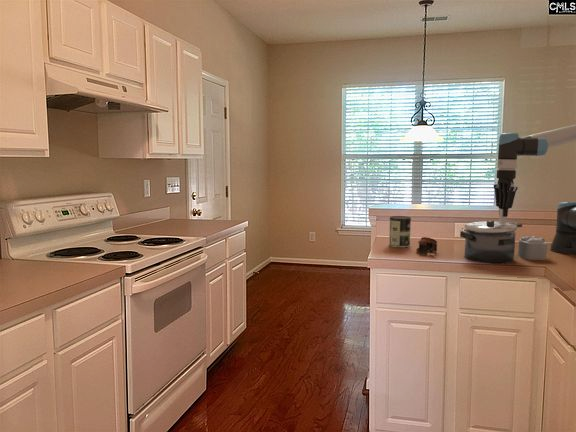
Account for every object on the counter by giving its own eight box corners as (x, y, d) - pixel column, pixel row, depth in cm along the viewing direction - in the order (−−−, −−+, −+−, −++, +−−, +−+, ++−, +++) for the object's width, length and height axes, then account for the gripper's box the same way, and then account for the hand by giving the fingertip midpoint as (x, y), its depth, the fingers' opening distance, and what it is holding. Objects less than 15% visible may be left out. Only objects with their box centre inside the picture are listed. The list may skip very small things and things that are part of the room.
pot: (490, 250, 225) (492, 225, 224) (528, 263, 201) (530, 235, 199) (447, 253, 220) (448, 227, 219) (480, 266, 196) (482, 237, 194)
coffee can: (410, 243, 242) (411, 216, 240) (409, 248, 232) (410, 219, 230) (389, 242, 244) (390, 215, 242) (387, 246, 235) (388, 218, 233)
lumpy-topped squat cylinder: (523, 259, 209) (524, 239, 208) (514, 252, 222) (515, 234, 220) (549, 260, 207) (550, 240, 206) (538, 253, 220) (539, 234, 219)
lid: (501, 221, 222) (501, 215, 221) (533, 229, 202) (533, 222, 201) (455, 227, 217) (455, 220, 216) (483, 235, 197) (483, 227, 196)
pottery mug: (410, 252, 224) (415, 236, 226) (426, 260, 227) (431, 244, 229) (426, 251, 213) (431, 234, 215) (443, 259, 216) (448, 242, 218)
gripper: (489, 168, 212) (485, 221, 216) (508, 170, 199) (504, 226, 203) (504, 168, 214) (500, 221, 217) (524, 170, 201) (520, 225, 205)
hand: (502, 223), depth 210 cm, fingers closed
